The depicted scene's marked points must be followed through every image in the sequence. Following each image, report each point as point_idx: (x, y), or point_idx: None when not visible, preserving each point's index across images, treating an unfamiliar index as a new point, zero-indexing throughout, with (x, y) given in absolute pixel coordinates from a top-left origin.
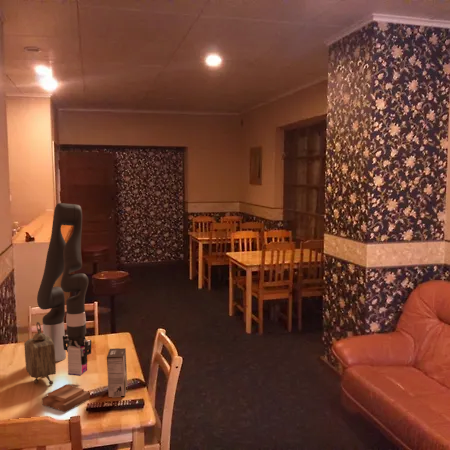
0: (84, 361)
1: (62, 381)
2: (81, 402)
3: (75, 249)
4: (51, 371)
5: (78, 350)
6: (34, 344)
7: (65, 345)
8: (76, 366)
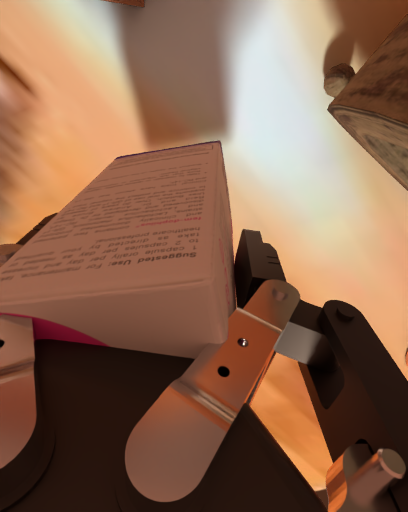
0: (40, 223)
1: (285, 155)
2: None
3: None
4: (363, 68)
5: (10, 279)
6: None
7: (345, 354)
8: (127, 174)
